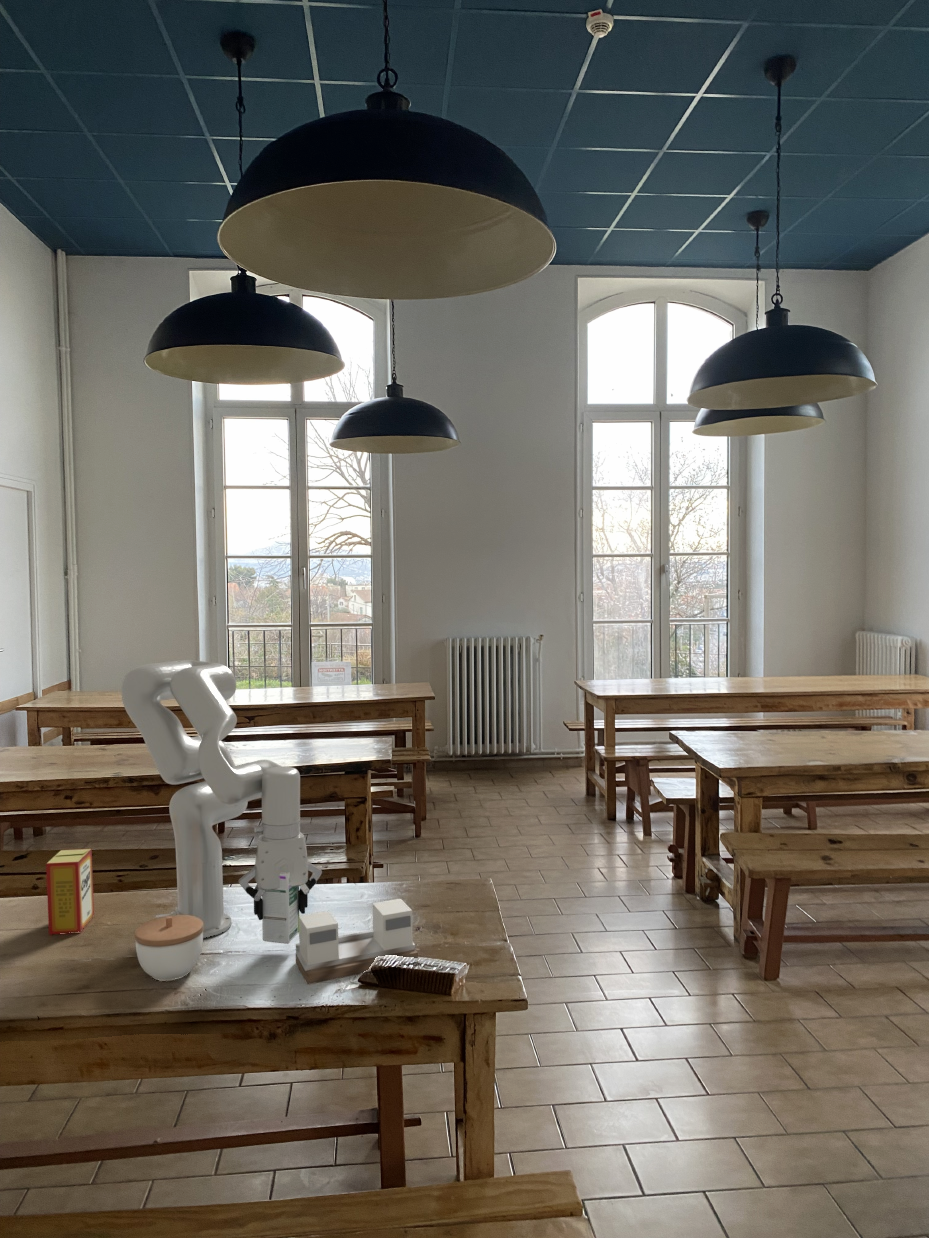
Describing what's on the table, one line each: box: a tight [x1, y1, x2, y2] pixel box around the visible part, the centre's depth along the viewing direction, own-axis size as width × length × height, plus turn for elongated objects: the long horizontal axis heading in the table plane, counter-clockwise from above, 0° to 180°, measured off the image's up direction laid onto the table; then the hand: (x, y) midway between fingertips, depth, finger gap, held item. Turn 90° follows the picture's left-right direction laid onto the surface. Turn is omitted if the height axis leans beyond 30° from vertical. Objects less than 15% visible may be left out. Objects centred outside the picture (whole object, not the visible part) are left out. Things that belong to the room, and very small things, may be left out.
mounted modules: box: [298, 898, 414, 965], centre depth 173 cm, size 21×7×7 cm, turn 113°
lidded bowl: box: [134, 915, 204, 980], centre depth 171 cm, size 13×13×11 cm
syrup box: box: [261, 872, 300, 945], centre depth 178 cm, size 6×6×14 cm
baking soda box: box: [45, 848, 95, 936], centre depth 195 cm, size 10×6×16 cm
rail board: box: [295, 929, 419, 985], centre depth 174 cm, size 22×10×4 cm, turn 113°
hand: (280, 913), depth 179 cm, fingers closed on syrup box, 7 cm apart
